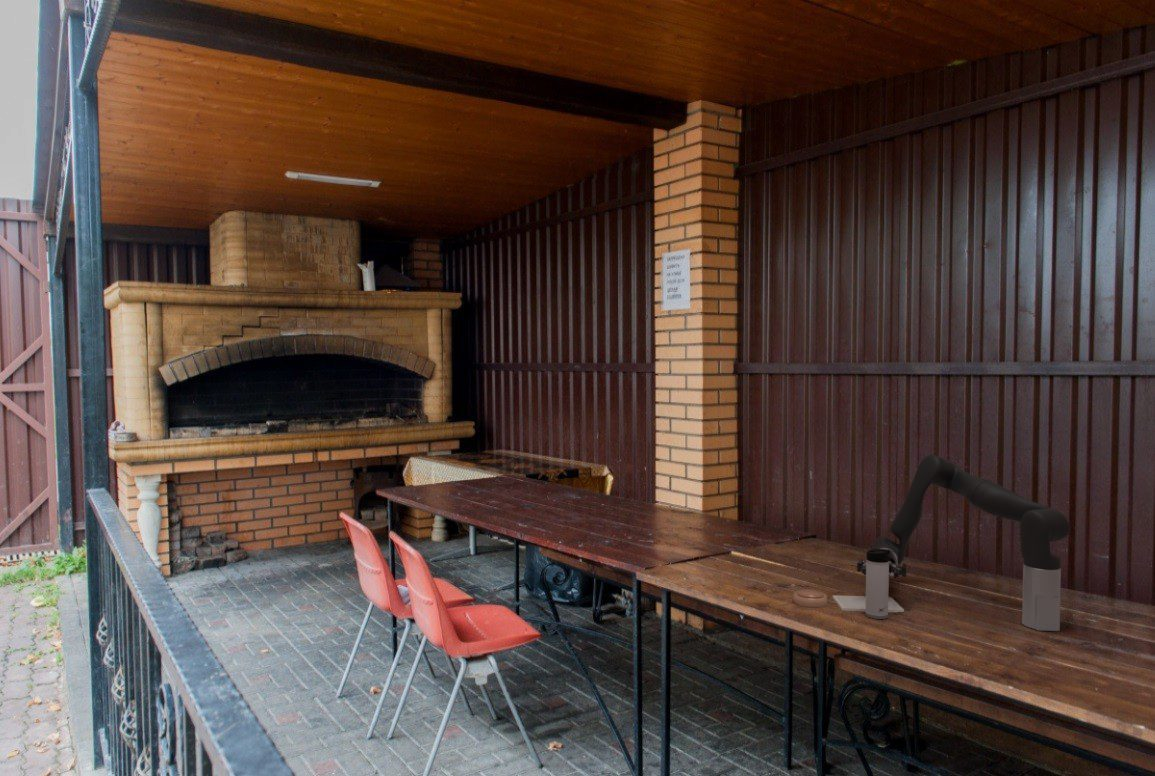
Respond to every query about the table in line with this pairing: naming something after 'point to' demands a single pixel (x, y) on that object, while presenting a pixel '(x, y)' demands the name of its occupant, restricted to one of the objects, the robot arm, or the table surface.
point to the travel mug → (877, 583)
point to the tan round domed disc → (810, 598)
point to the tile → (862, 603)
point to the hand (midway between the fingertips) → (879, 573)
